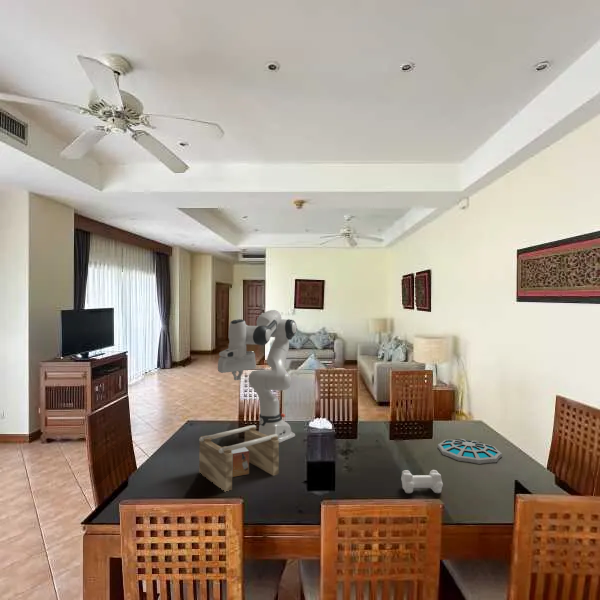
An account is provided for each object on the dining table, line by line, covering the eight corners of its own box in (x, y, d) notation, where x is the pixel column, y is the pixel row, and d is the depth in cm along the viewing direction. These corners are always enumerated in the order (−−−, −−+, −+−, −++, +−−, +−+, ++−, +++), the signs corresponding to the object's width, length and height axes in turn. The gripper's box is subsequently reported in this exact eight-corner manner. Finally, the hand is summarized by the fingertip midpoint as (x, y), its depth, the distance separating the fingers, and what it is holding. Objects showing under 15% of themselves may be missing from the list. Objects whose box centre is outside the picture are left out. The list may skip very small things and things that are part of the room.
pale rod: (254, 428, 191) (254, 424, 191) (256, 429, 190) (256, 425, 190) (198, 441, 172) (198, 437, 172) (200, 442, 171) (200, 438, 171)
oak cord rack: (249, 458, 192) (249, 424, 192) (278, 473, 173) (278, 437, 174) (199, 472, 174) (199, 436, 175) (225, 492, 156) (225, 451, 156)
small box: (232, 477, 169) (232, 453, 170) (228, 472, 174) (228, 449, 175) (249, 474, 173) (249, 450, 173) (245, 469, 178) (245, 446, 178)
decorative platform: (459, 466, 182) (459, 456, 182) (427, 445, 211) (427, 436, 211) (515, 461, 189) (515, 451, 189) (476, 441, 217) (476, 432, 217)
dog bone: (436, 487, 161) (435, 467, 162) (444, 495, 153) (443, 474, 154) (400, 488, 161) (400, 467, 162) (406, 496, 153) (406, 474, 154)
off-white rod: (276, 437, 178) (276, 433, 178) (278, 438, 176) (278, 434, 176) (217, 453, 158) (217, 448, 158) (220, 454, 157) (220, 449, 157)
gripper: (251, 350, 201) (251, 376, 200) (216, 353, 188) (216, 381, 187) (258, 351, 196) (258, 378, 196) (222, 354, 183) (222, 383, 182)
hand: (237, 379), depth 191 cm, fingers closed
